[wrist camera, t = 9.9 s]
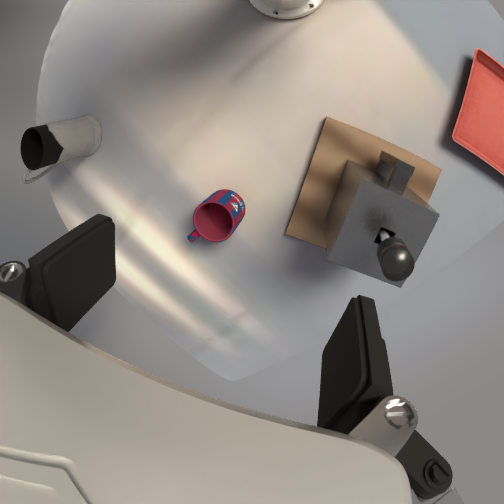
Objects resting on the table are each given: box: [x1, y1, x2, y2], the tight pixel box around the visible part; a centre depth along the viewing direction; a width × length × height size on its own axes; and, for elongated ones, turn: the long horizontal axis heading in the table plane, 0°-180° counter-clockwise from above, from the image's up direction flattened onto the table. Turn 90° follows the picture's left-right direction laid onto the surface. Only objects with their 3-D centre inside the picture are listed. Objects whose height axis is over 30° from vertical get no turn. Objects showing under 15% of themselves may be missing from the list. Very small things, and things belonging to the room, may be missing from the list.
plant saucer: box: [452, 48, 504, 176], centre depth 31 cm, size 18×18×3 cm
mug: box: [188, 189, 245, 242], centre depth 48 cm, size 7×10×7 cm
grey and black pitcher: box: [21, 115, 102, 184], centre depth 44 cm, size 9×14×15 cm, turn 130°
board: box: [286, 117, 442, 249], centre depth 44 cm, size 20×20×2 cm
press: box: [325, 151, 439, 288], centre depth 36 cm, size 13×10×15 cm
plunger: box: [377, 227, 414, 282], centre depth 33 cm, size 8×8×21 cm
